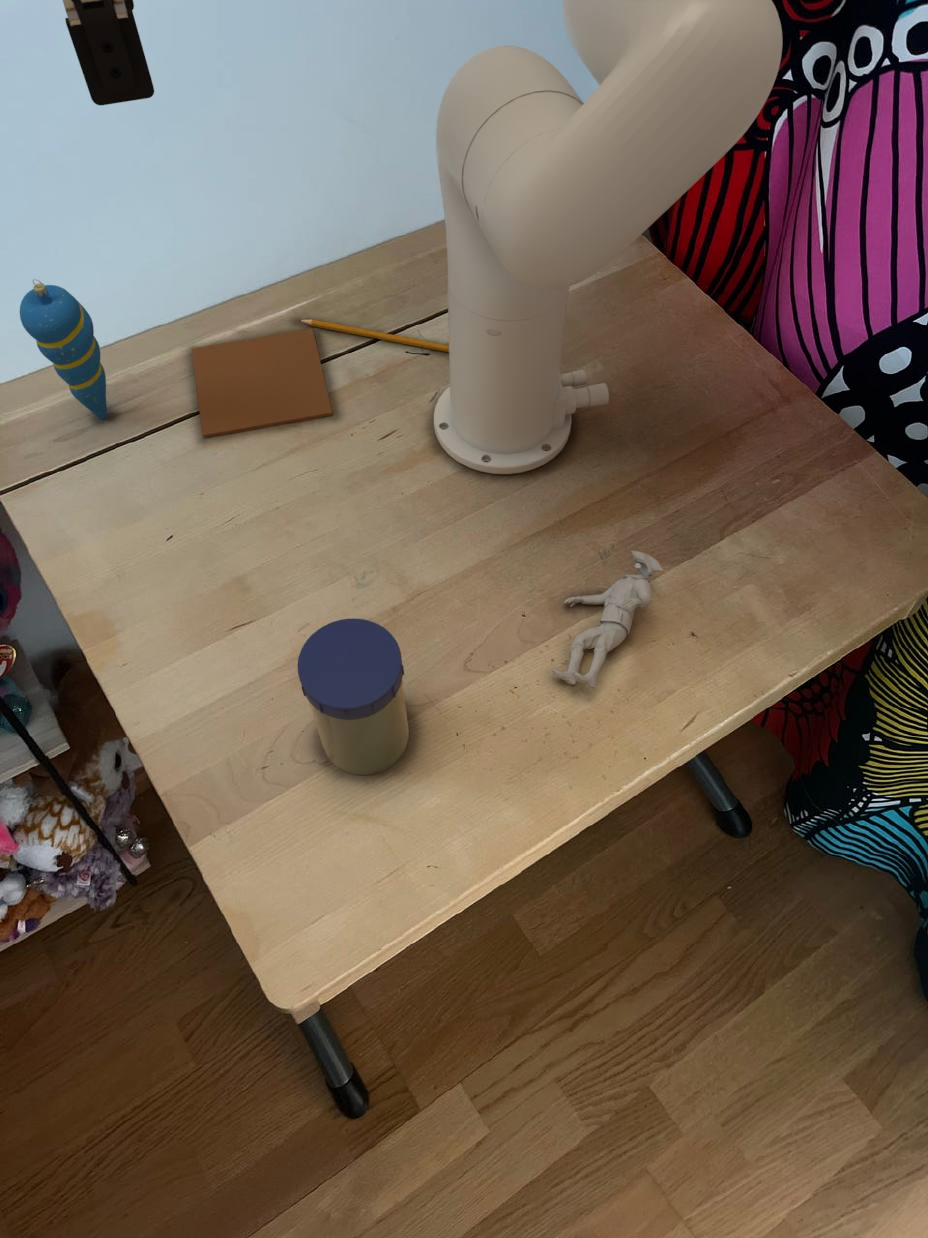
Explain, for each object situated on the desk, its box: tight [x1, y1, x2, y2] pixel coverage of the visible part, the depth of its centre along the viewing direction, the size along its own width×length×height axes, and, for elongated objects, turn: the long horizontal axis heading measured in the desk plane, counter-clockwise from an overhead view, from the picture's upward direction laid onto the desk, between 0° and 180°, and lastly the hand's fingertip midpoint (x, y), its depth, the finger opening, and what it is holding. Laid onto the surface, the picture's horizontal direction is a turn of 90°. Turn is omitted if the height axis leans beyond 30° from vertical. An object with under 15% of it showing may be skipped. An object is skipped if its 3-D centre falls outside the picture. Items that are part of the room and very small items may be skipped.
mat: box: [191, 328, 333, 439], centre depth 87 cm, size 12×12×1 cm
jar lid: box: [297, 618, 405, 720], centre depth 59 cm, size 7×7×2 cm
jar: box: [308, 680, 410, 776], centre depth 63 cm, size 6×6×10 cm
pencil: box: [298, 319, 449, 353], centre depth 91 cm, size 19×1×1 cm, turn 74°
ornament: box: [19, 278, 108, 420], centre depth 79 cm, size 5×5×15 cm
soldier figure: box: [551, 550, 664, 689], centre depth 71 cm, size 8×5×12 cm
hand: (115, 53), depth 50 cm, fingers open, 9 cm apart
